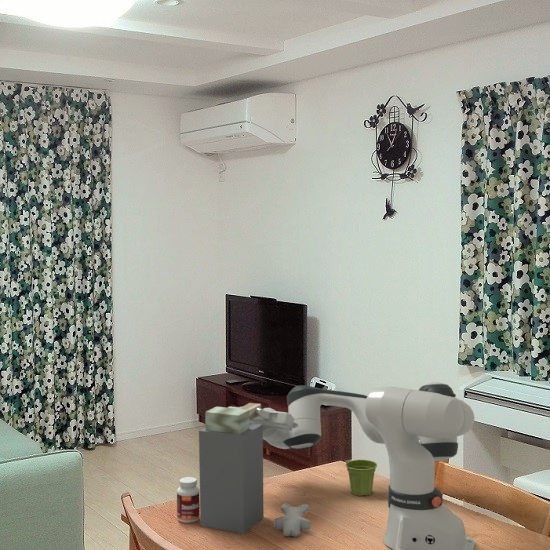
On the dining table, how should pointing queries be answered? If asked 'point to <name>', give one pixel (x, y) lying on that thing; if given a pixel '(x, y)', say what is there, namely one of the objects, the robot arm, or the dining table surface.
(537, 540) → the dining table surface
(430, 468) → the robot arm
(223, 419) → the mallet
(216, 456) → the stand
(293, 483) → the dining table surface
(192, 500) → the pill bottle
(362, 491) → the plant pot
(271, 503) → the dining table surface
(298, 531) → the grey soft figure
